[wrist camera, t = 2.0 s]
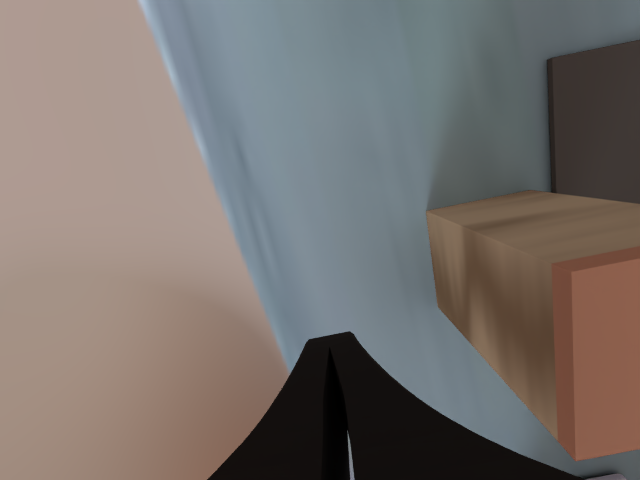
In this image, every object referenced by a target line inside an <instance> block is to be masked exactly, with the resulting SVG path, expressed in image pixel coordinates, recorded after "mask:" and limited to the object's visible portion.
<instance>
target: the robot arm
mask: <svg viewBox="0 0 640 480" xmlns="http://www.w3.org/2000/svg"><path fill="white" fill-rule="evenodd" d="M347 430H348V434H349V438H350V443H351V452H352V460H353V469H354V478H355V480H584V479H582V478H579V477H577V476H574V475H572V474H569V473H566V472H564V471H561V470H559V469H556V468H554V467H551V466H549V465H546V464H543V463H541V462H538V461H536V460H533V459H531V458H528V457H525V456H523V455H521V454H518V453H516V452H514V451H512V450H510V449H507V448H505V447H503V446H501V445H499V444H497V443H495V442H492V441H490V440H488V439H486V438H484V437H482V436H480V435H478V434H476V433H474V432H472V431H470V430H469V429H467V428H465V427H463V426H462V425H460V424H458V423H456V422H455V421H453V420H451V419H449V418H447V417H446V416H444V415H442V414H441V413H439V412H438V411H436V410H435V409H433V408H432V407H430V406H429V405H427V404H426V403H424V402H423V401H422V400H420V399H419V398H417V397H416V396H415V395H413V394H412V393H411V392H409V391H408V390H407V389H406V388H404V387H403V386H402V385H401V384H400V383H398V382H397V381H396V380H395V379H394V378H393V377H391V376H390V375H389V374H388V373H387V372H386V371H385V370H384V369H383V368H382V367H381V366H380V365H379V364H378V363H377V362H376V361H375V360H374V359H373V358H372V357H371V356H370V355H369V354H368V353H367V351H366V350H365V349H364V348H363V347H362V345H361V344H360V343H359V341H358V340H357V339H356V337H355V335H354V334H353V333H351V332H350V331H349V332H344V333H339V334H334V335H329V336H323V337H318V338H313V339H309V340H308V341H307V343H306V344H305V346H304V349H303V351H302V353H301V355H300V357H299V359H298V361H297V363H296V365H295V367H294V369H293V370H292V372H291V374H290V376H289V377H288V379H287V381H286V383H285V385H284V386H283V388H282V390H281V391H280V392H279V394H278V396H277V397H276V399H275V400H274V402H273V403H272V405H271V406H270V408H269V409H268V411H267V412H266V414H265V415H264V416H263V418H262V419H261V421H260V422H259V423H258V424H257V426H256V427H255V428H254V429H253V431H252V432H251V433H250V435H249V436H248V437H247V438H246V439H245V440H244V442H243V443H242V444H241V445H240V446H239V447H238V448H237V449H236V450H235V451H234V452H233V453H232V454H231V455H230V456H229V458H228V459H227V460H226V461H225V462H224V463H223V464H222V465H221V466H220V467H219V468H218V469H217V471H215V472H214V473H213V474H212V475H211V476H210V478H208V479H207V480H350V469H349V451H348V434H347ZM585 480H627V479H626V478H625V477H624V476H623V475H622V474H611V475H606V476H600V477H595V478H590V479H585Z"/></svg>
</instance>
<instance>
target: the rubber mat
mask: <svg viewBox="0 0 640 480" xmlns="http://www.w3.org/2000/svg"><path fill="white" fill-rule="evenodd" d="M547 64H548V93H549V121H550V150H551V178H552V193H557V194H565V195H573V196H581V197H589V198H597V199H604V200H612V201H620V202H628V203H636V204H640V40H637V41H632V42H627V43H622V44H617V45H612V46H607V47H602V48H598V49H593V50H588V51H583V52H578V53H573V54H568V55H563V56H559V57H554V58H551V59H548V60H547Z"/></svg>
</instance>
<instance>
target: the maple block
mask: <svg viewBox="0 0 640 480" xmlns="http://www.w3.org/2000/svg"><path fill="white" fill-rule="evenodd" d="M426 216H427V224H428V232H429V240H430V248H431V256H432V264H433V272H434V280H435V288H436V296H437V304H438V308H439V309H440V310H441V311H442V312H443V313H444V314H445V315H446V316H447V318H448V319H449V320H450V321H451V322H452V323H453V324H454V325H455V327H456V328H457V329H458V330H459V331H460V332H461V333H462V334H463V336H464V337H465V338H466V339H467V340H468V341H469V342H470V343H471V345H472V346H473V347H474V348H475V349H476V350H477V351H478V352H479V353H480V355H481V356H482V357H483V358H484V359H485V360H486V361H487V362H488V364H489V365H490V366H491V367H492V368H493V369H494V370H495V371H496V373H497V374H498V375H499V376H500V377H501V378H502V379H503V380H504V382H505V383H506V384H507V385H508V386H509V387H510V388H511V389H512V390H513V392H514V393H515V394H516V395H517V396H518V397H519V398H520V399H521V401H522V402H523V403H524V404H525V405H526V406H527V407H528V408H529V410H530V411H531V412H532V413H533V414H534V415H535V416H536V417H537V419H538V420H539V421H540V422H541V423H542V424H543V425H544V426H545V428H546V429H547V430H548V431H549V432H550V433H551V434H552V435H553V436H554V438H555V439H556V440H557V441H558V442H559V443H560V444H561V445H562V447H563V448H564V449H565V450H566V451H567V452H568V453H569V454H570V456H571V457H572V458H573V459H574V460H575V461H580V460H585V459H590V458H595V457H601V456H606V455H611V454H616V453H622V452H627V451H632V450H638V449H640V204H636V203H628V202H620V201H612V200H604V199H597V198H589V197H581V196H573V195H565V194H557V193H549V192H542V191H534V190H528V191H523V192H518V193H513V194H508V195H503V196H498V197H493V198H488V199H483V200H478V201H473V202H468V203H463V204H458V205H453V206H448V207H443V208H438V209H433V210H428V211H426Z"/></svg>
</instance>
